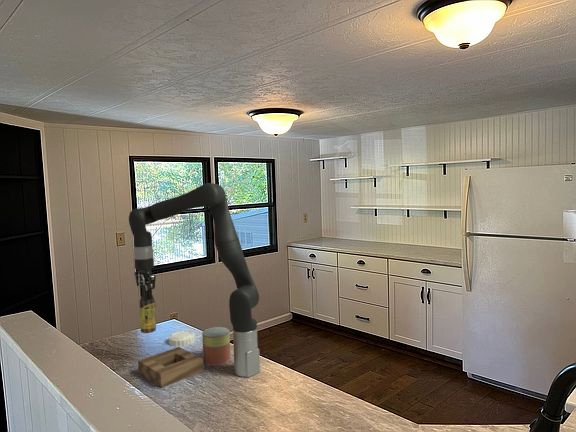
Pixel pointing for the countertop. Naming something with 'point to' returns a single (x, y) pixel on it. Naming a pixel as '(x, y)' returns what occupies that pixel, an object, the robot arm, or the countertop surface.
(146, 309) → the sauce bottle
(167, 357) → the square wooden frame
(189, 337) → the cream scalloped thick disc
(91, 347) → the countertop surface
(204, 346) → the canned food
